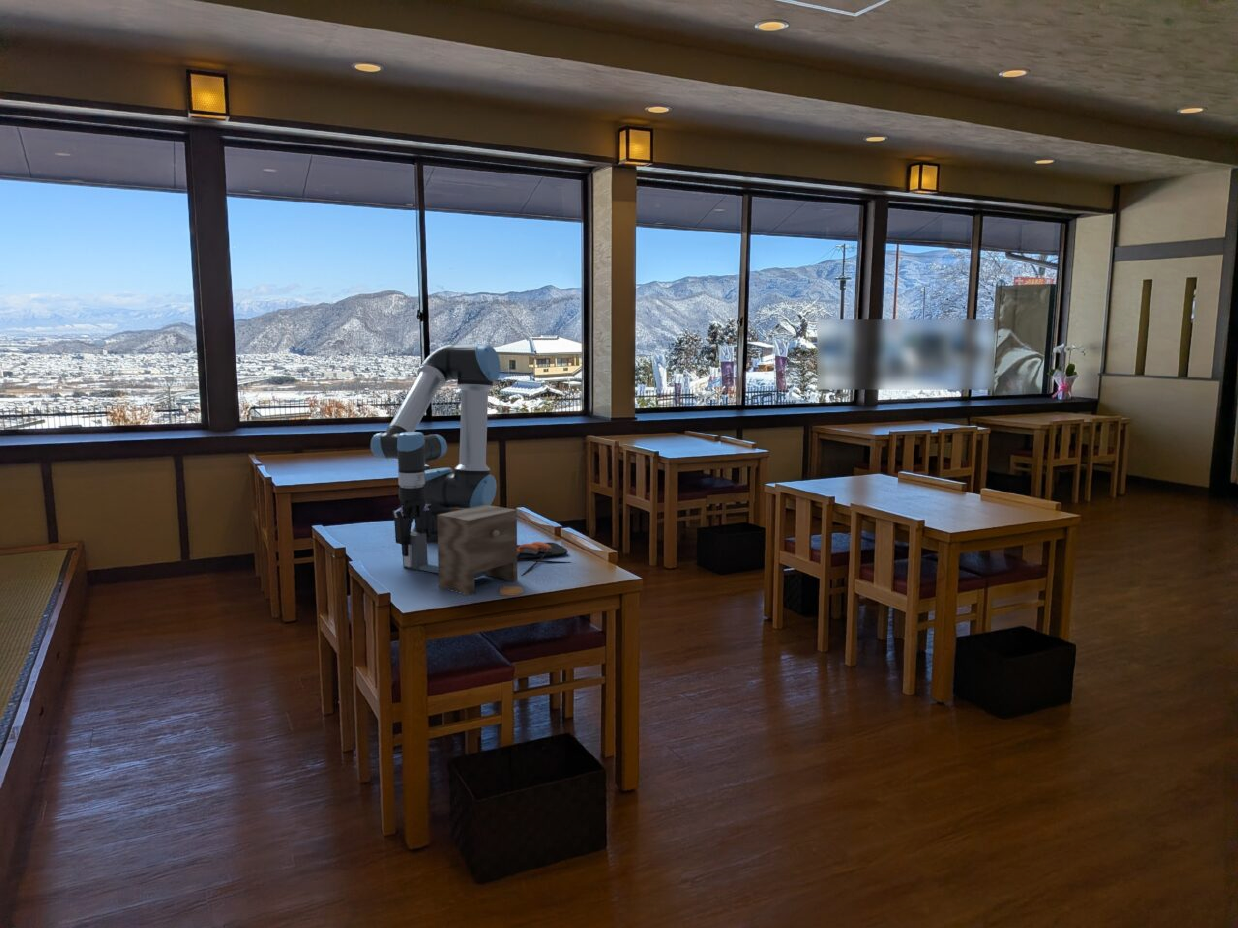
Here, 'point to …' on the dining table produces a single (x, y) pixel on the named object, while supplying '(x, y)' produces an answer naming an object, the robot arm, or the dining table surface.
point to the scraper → (424, 554)
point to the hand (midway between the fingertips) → (414, 564)
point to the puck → (511, 590)
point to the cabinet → (476, 546)
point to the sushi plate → (539, 552)
